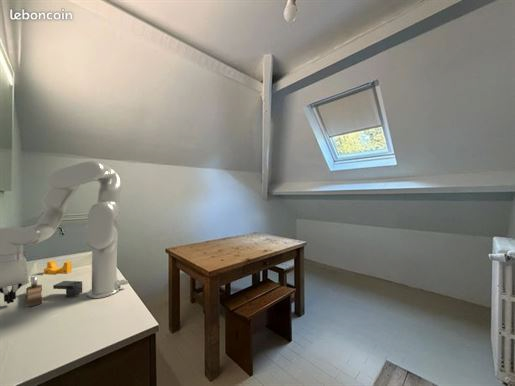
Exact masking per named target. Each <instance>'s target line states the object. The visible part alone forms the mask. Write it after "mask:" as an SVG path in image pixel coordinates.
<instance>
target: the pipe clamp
mask: <svg viewBox="0 0 515 386" xmlns="http://www.w3.org/2000/svg"><path fill="white" fill-rule="evenodd" d="M70 273H72V261H71V260H68V261H64V262H63V266H62V267H59V266H57V264H56V260H50V261H47V262H46V268H44V269H43V275H48V276H49V275H54V276H55V275H58V274H60V275H61V274H62V275H67V274H70Z"/></svg>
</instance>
